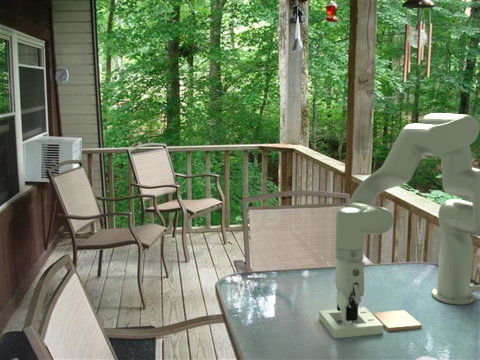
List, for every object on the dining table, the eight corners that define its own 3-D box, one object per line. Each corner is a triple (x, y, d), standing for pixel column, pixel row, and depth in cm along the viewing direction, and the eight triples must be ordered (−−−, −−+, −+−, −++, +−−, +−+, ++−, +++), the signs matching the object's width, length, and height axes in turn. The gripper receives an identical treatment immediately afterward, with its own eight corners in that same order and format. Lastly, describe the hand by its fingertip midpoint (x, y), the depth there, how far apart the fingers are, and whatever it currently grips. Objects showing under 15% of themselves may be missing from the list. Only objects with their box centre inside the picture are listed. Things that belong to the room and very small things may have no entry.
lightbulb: (361, 326, 146) (363, 288, 144) (350, 333, 141) (351, 295, 140) (343, 319, 150) (344, 283, 148) (331, 326, 146) (332, 289, 144)
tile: (403, 313, 154) (404, 309, 154) (421, 328, 145) (421, 324, 144) (372, 315, 152) (372, 312, 152) (388, 331, 143) (388, 327, 143)
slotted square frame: (364, 315, 153) (364, 306, 153) (382, 333, 141) (383, 324, 141) (319, 319, 150) (319, 310, 150) (334, 338, 139) (334, 329, 138)
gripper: (375, 262, 134) (373, 327, 137) (349, 243, 151) (347, 301, 154) (348, 264, 133) (346, 330, 136) (325, 244, 150) (323, 303, 153)
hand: (347, 314), depth 145 cm, fingers closed on lightbulb, 5 cm apart
